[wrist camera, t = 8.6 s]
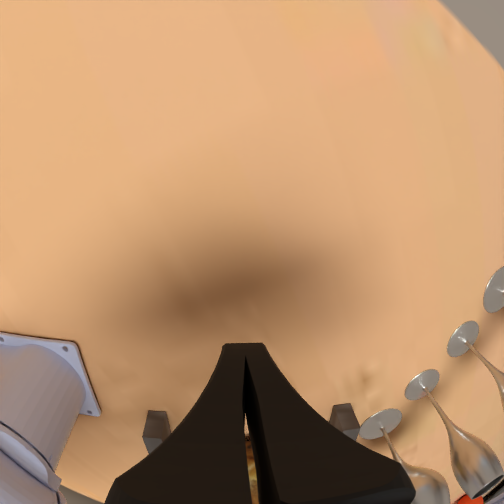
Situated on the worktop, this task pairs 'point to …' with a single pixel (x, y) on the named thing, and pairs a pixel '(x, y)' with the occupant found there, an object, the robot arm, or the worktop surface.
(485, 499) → the serving board
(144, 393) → the worktop surface
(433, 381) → the goblet set
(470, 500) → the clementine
